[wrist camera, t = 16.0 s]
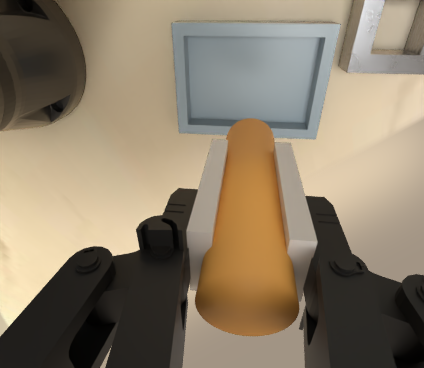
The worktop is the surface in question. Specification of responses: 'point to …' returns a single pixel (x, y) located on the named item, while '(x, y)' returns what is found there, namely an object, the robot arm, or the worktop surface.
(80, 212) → the worktop surface
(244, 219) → the pin
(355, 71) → the pin socket
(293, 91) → the tray
